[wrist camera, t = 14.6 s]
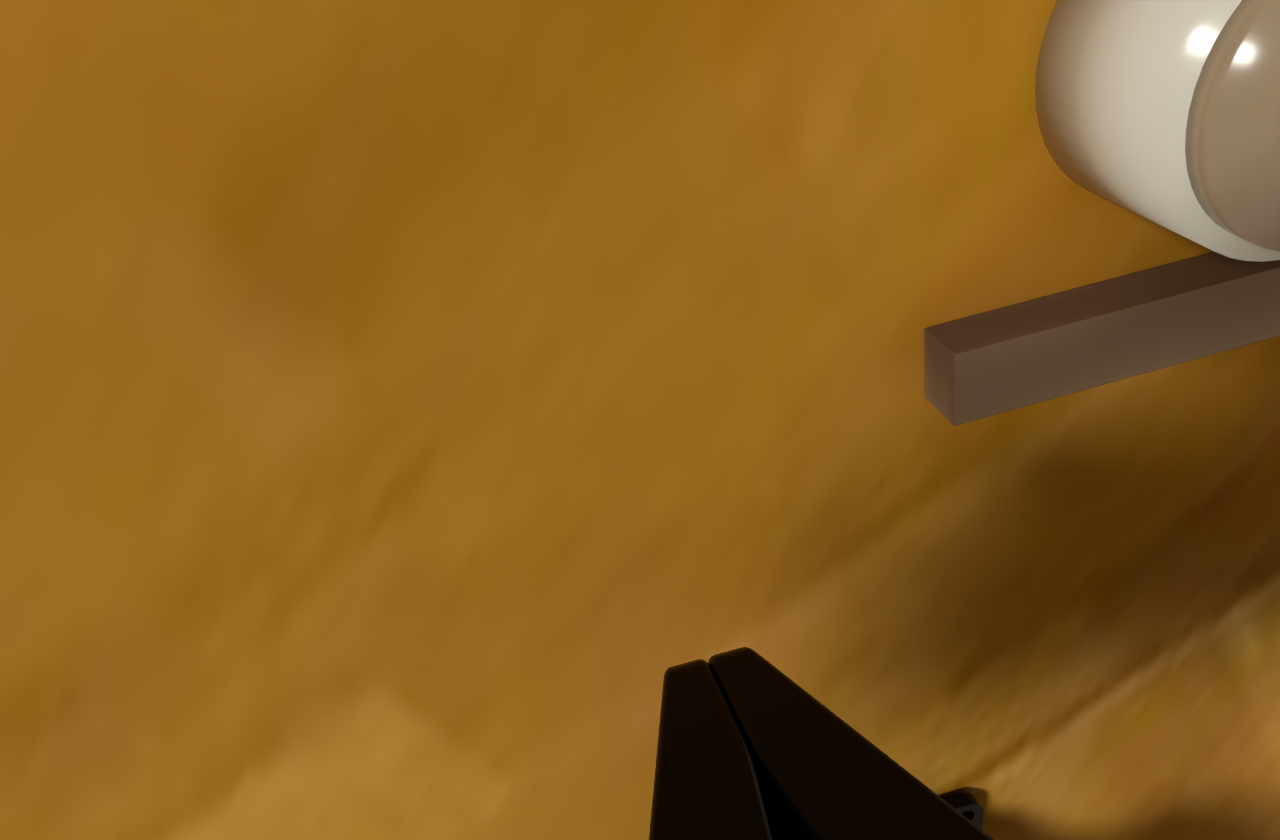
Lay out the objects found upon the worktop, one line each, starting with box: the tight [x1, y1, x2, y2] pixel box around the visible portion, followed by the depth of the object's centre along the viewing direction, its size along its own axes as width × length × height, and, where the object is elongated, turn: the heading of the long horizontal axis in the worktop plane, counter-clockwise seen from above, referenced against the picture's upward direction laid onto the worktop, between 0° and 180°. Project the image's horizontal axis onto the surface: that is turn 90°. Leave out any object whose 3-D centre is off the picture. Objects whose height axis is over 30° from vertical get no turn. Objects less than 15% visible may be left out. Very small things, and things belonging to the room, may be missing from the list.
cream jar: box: [1035, 0, 1280, 262], centre depth 16 cm, size 6×6×4 cm
